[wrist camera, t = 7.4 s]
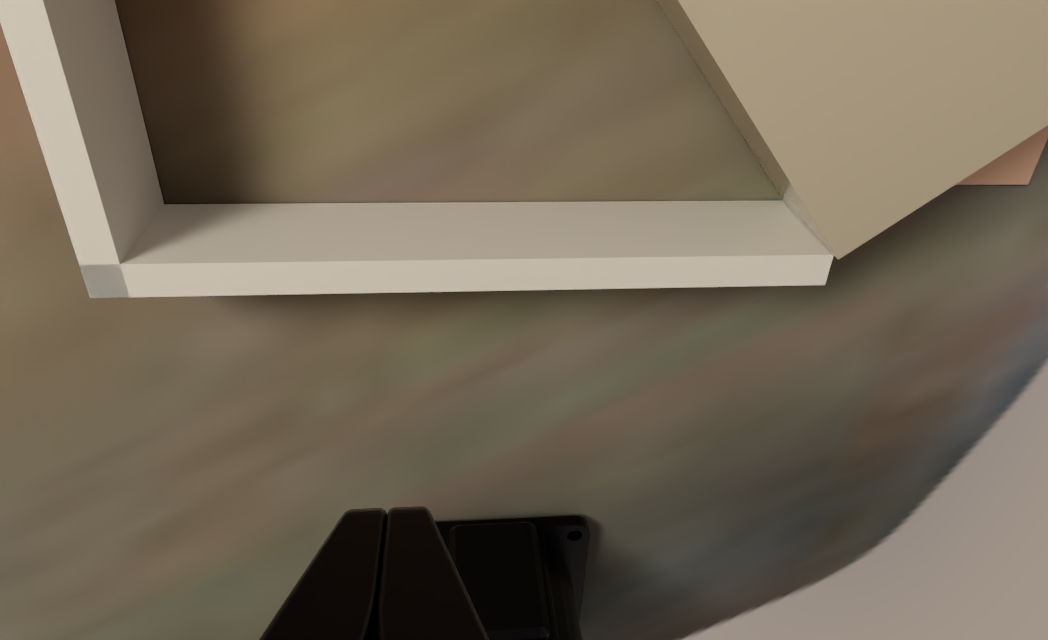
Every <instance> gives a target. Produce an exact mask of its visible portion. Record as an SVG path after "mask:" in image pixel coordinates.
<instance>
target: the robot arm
mask: <svg viewBox="0 0 1048 640" xmlns="http://www.w3.org/2000/svg"><path fill="white" fill-rule="evenodd" d="M575 530H576V531H575ZM571 531H573V532H571ZM588 543H589V530H588V525H587V521H586V520H585V519H584V518H581V517H578V516H565V517H544V518H523V519H502V520H480V521H459V522H438V523H435V521H434V519H433V517H432V515H431V513H430V511H429V510H428V509H427V508H426V507H422V506H420V507H395V508H392V509H390V510H389V512H388V514H387V513H386V511H385V510H383V509H382V508H371V509H351V510H348V511H347V512H345V513H344V514H343V516H342V517H341V518H340V520H339V521H338V523H337V524H336V526H335V527H334V529H333V530H332V532H331V533H330V535H329V536H328V538H327V539H326V541H325V542H324V544H323V545H322V547H321V548H320V550H319V551H318V553H317V554H316V556H315V557H314V559H313V560H312V562H311V563H310V565H309V566H308V568H307V569H306V571H305V572H304V574H303V575H302V576H301V578H300V579H299V581H298V582H297V584H296V585H295V587H294V588H293V590H292V591H291V593H290V594H289V596H288V597H287V599H286V600H285V602H284V603H283V605H282V606H281V608H280V609H279V611H278V612H277V614H276V615H275V617H274V618H273V620H272V621H271V623H270V624H269V626H268V627H267V629H266V630H265V632H264V633H263V635H262V636H261V638H260V639H259V640H582V636H581V630H580V625H579V618H580V610H581V601H582V593H583V585H584V576H585V568H586V560H587V551H588Z"/></svg>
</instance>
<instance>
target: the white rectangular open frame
mask: <svg viewBox="0 0 1048 640" xmlns="http://www.w3.org/2000/svg"><path fill="white" fill-rule="evenodd" d="M0 23H1V26H2V29H3V32H4V35H5V38H6V41H7V44H8V47H9V50H10V53H11V57H12V60H13V63H14V66H15V69H16V72H17V75H18V78H19V81H20V84H21V87H22V90H23V93H24V96H25V100H26V103H27V106H28V109H29V112H30V115H31V118H32V121H33V124H34V127H35V130H36V133H37V136H38V140H39V143H40V146H41V149H42V152H43V155H44V158H45V161H46V164H47V167H48V170H49V173H50V176H51V180H52V183H53V186H54V189H55V192H56V195H57V198H58V201H59V204H60V207H61V210H62V213H63V216H64V219H65V223H66V226H67V229H68V232H69V235H70V238H71V241H72V244H73V247H74V250H75V253H76V256H77V259H78V263H79V266H80V269H81V272H82V275H83V278H84V281H85V284H86V287H87V290H88V293H89V296H90V298H120V297H177V296H234V295H291V294H347V293H404V292H461V291H518V290H575V289H631V288H688V287H745V286H802V285H825V284H826V280H827V277H828V273H829V270H830V267H831V263H832V260H833V256H834V255H833V254H832V253H831V252H830V251H829V250H828V249H827V247H826V246H825V245H824V244H823V243H822V242H821V241H820V240H819V239H818V238H817V237H816V236H815V235H814V233H813V232H812V231H811V230H810V229H809V228H808V227H807V226H806V225H805V224H804V223H803V222H802V221H801V219H800V218H799V217H798V216H797V215H796V214H795V213H794V212H793V211H792V210H791V209H790V208H789V207H788V205H787V204H786V203H785V202H784V201H620V202H456V203H293V204H164V201H163V197H162V193H161V189H160V185H159V181H158V177H157V173H156V169H155V164H154V160H153V156H152V152H151V148H150V144H149V140H148V136H147V132H146V127H145V123H144V119H143V115H142V111H141V107H140V103H139V99H138V95H137V91H136V86H135V82H134V78H133V74H132V70H131V66H130V62H129V58H128V54H127V49H126V45H125V41H124V37H123V33H122V29H121V25H120V21H119V17H118V12H117V8H116V4H115V0H0Z"/></svg>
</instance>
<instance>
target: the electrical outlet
mask: <svg viewBox="0 0 1048 640" xmlns="http://www.w3.org/2000/svg"><path fill="white" fill-rule="evenodd" d="M657 2H658V3H659V5H660V7H661V8H662V10H663V11H664V13H665V15H666V16H667V18H668V19H669V21H670V22H671V24H672V26H673V27H674V29H675V30H676V32H677V33H678V35H679V37H680V38H681V40H682V41H683V43H684V44H685V46H686V48H687V49H688V51H689V52H690V54H691V56H692V57H693V59H694V60H695V62H696V63H697V65H698V67H699V68H700V70H701V71H702V73H703V74H704V76H705V78H706V79H707V81H708V82H709V84H710V86H711V87H712V89H713V90H714V92H715V93H716V95H717V97H718V98H719V100H720V101H721V103H722V104H723V106H724V108H725V109H726V111H727V112H728V114H729V116H730V117H731V119H732V120H733V122H734V123H735V125H736V127H737V128H738V130H739V131H740V133H741V134H742V136H743V138H744V139H745V141H746V142H747V144H748V145H749V147H750V149H751V150H752V152H753V153H754V155H755V157H756V158H757V160H758V161H759V163H760V164H761V166H762V168H763V169H764V171H765V172H766V174H767V175H768V177H769V179H770V180H771V182H772V183H773V185H774V187H775V188H776V190H777V191H778V193H779V194H780V196H781V198H782V199H783V201H784V202H785V203H786V204H787V205H788V207H789V208H790V209H791V210H792V211H793V212H794V213H795V214H796V215H797V216H798V217H799V218H800V219H801V221H802V222H803V223H804V224H805V225H806V226H807V227H808V228H809V229H810V230H811V231H812V232H813V233H814V235H815V236H816V237H817V238H818V239H819V240H820V241H821V242H822V243H823V244H824V245H825V246H826V247H827V249H828V250H829V251H830V252H831V253H832V254H833V255H834V256H835V257H836V258H837V259H838V260H839V259H840V258H842V257H843V256H845V255H847V254H848V253H850V252H851V251H853V250H854V249H856V248H857V247H859V246H861V245H862V244H864V243H865V242H867V241H868V240H870V239H871V238H873V237H875V236H876V235H878V234H879V233H881V232H882V231H884V230H885V229H887V228H889V227H890V226H892V225H893V224H895V223H896V222H898V221H899V220H901V219H903V218H904V217H906V216H907V215H909V214H910V213H912V212H913V211H915V210H917V209H918V208H920V207H921V206H923V205H924V204H926V203H928V202H929V201H931V200H932V199H934V198H935V197H937V196H938V195H940V194H942V193H943V192H945V191H946V190H948V189H949V188H951V187H952V186H954V185H956V184H957V183H959V182H960V181H962V180H963V179H965V178H966V177H968V176H970V175H971V174H973V173H974V172H976V171H977V170H979V169H980V168H982V167H984V166H985V165H987V164H988V163H990V162H991V161H993V160H994V159H996V158H998V157H999V156H1001V155H1002V154H1004V153H1005V152H1007V151H1008V150H1010V149H1012V148H1013V147H1015V146H1016V145H1018V144H1019V143H1021V142H1023V141H1024V140H1026V139H1027V138H1029V137H1030V136H1032V135H1033V134H1035V133H1037V132H1038V131H1040V130H1041V129H1043V128H1044V127H1046V126H1047V125H1048V0H657Z"/></svg>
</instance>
